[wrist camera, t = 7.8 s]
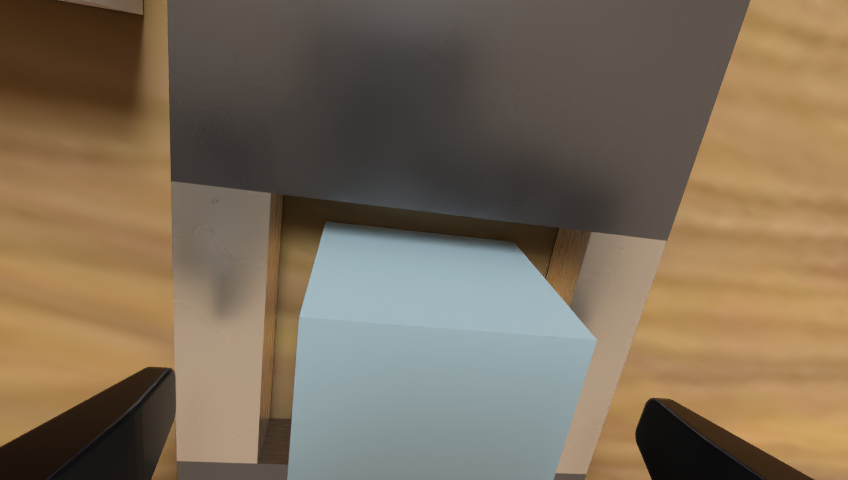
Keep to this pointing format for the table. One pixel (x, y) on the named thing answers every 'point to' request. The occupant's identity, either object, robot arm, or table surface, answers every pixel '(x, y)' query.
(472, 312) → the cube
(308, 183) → the plate
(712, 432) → the robot arm
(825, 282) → the table surface
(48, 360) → the table surface
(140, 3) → the stand
